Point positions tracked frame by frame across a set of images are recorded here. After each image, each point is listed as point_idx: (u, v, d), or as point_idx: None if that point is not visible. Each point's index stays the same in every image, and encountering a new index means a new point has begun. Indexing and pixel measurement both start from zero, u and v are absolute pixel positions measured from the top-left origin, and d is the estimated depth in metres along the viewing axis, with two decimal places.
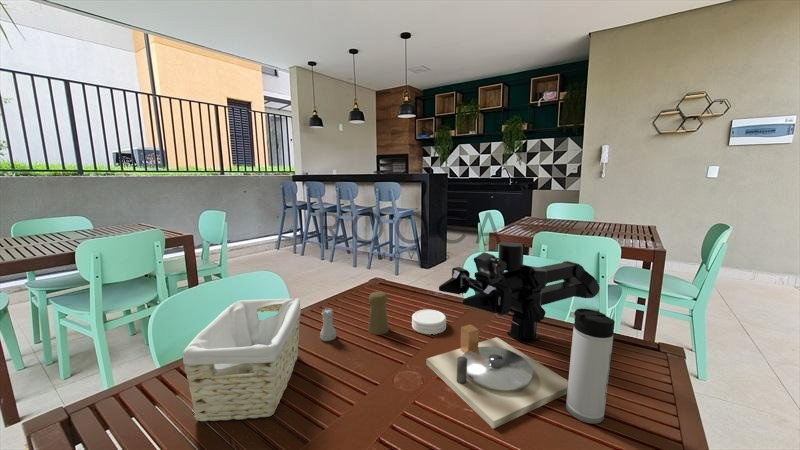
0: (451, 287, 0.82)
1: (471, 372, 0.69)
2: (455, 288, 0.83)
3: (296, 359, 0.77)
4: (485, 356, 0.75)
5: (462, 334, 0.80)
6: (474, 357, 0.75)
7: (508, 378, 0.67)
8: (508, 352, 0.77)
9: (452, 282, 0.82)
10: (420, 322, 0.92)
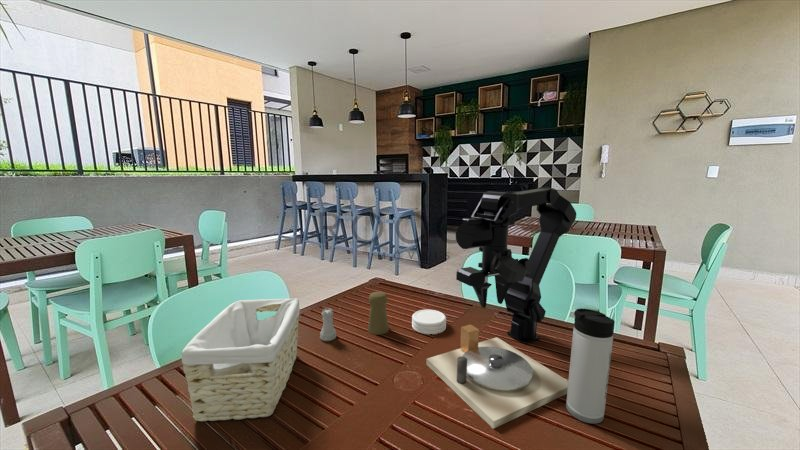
0: None
1: (471, 372, 0.69)
2: None
3: (295, 359, 0.77)
4: (485, 356, 0.75)
5: (462, 334, 0.80)
6: (474, 357, 0.75)
7: (508, 378, 0.67)
8: (508, 352, 0.77)
9: None
10: (420, 322, 0.92)
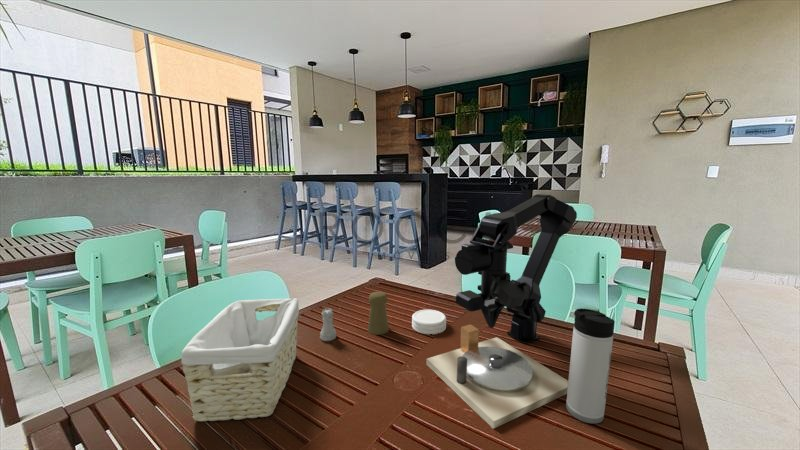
0: None
1: (471, 372, 0.69)
2: None
3: (294, 359, 0.77)
4: (485, 356, 0.75)
5: (462, 334, 0.80)
6: (474, 357, 0.75)
7: (508, 378, 0.67)
8: (508, 352, 0.77)
9: None
10: (420, 322, 0.92)
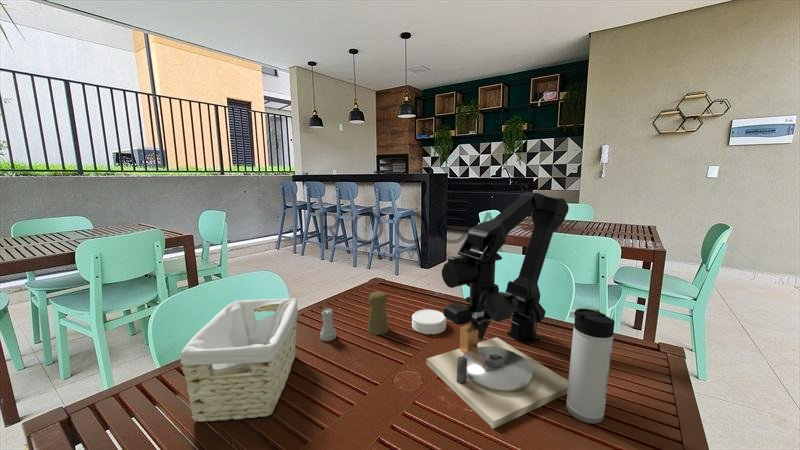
0: None
1: (472, 372, 0.69)
2: None
3: (293, 359, 0.77)
4: (485, 356, 0.75)
5: (461, 334, 0.79)
6: (473, 357, 0.75)
7: (509, 378, 0.67)
8: (507, 351, 0.77)
9: None
10: (420, 322, 0.92)
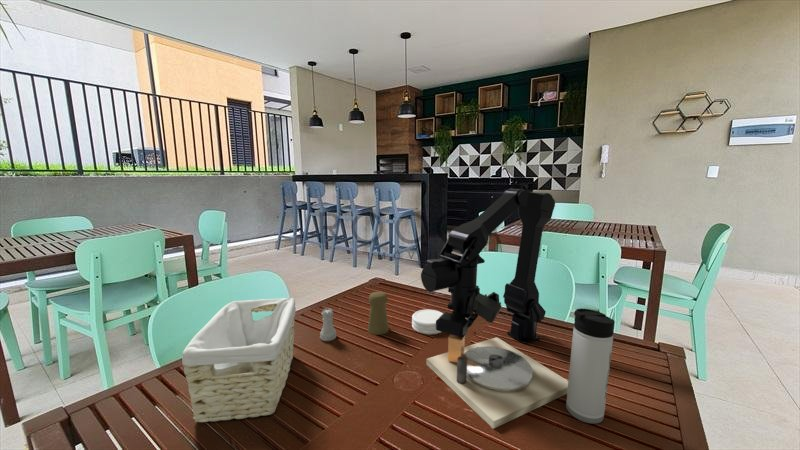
0: None
1: (488, 381, 0.66)
2: None
3: (292, 358, 0.77)
4: (480, 359, 0.74)
5: (450, 345, 0.75)
6: (472, 364, 0.72)
7: (518, 373, 0.69)
8: (490, 348, 0.79)
9: None
10: (420, 322, 0.92)
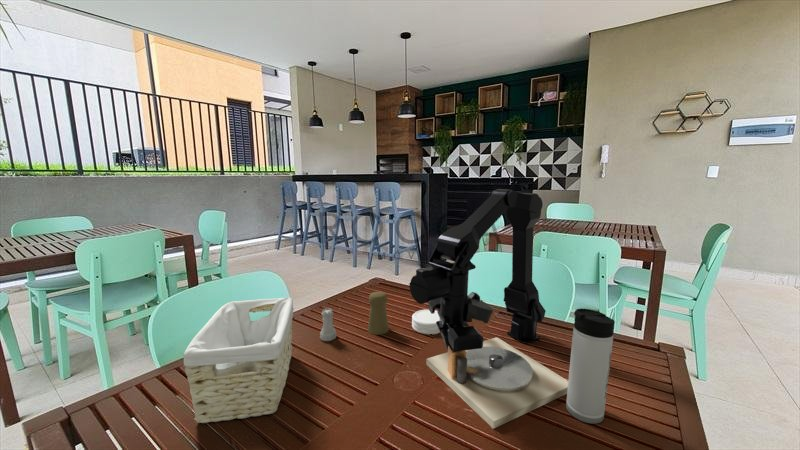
0: None
1: (509, 383, 0.66)
2: None
3: (290, 358, 0.78)
4: (480, 365, 0.72)
5: (454, 360, 0.69)
6: (480, 372, 0.69)
7: (519, 366, 0.72)
8: (475, 350, 0.78)
9: None
10: (420, 322, 0.92)
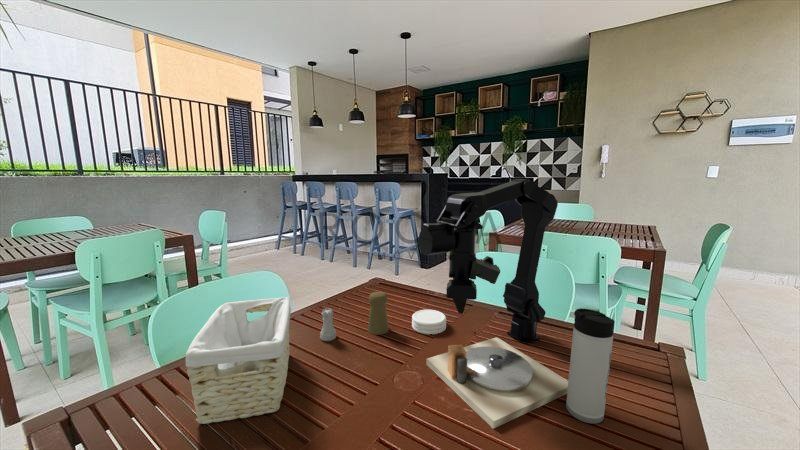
0: None
1: (509, 383, 0.66)
2: None
3: None
4: (480, 365, 0.72)
5: (454, 360, 0.69)
6: (480, 372, 0.69)
7: (519, 366, 0.72)
8: (475, 350, 0.78)
9: None
10: (420, 322, 0.92)
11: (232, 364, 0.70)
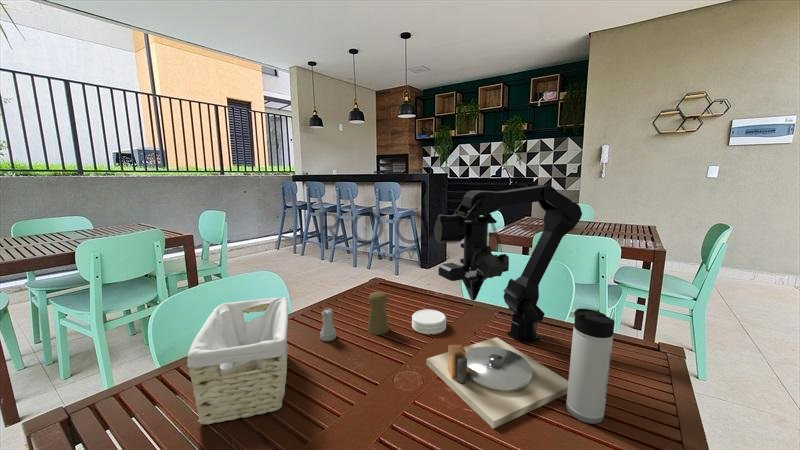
0: None
1: (509, 383, 0.66)
2: None
3: None
4: (480, 365, 0.72)
5: (454, 360, 0.69)
6: (480, 372, 0.69)
7: (519, 366, 0.72)
8: (475, 350, 0.78)
9: None
10: (420, 322, 0.92)
11: (231, 365, 0.70)
